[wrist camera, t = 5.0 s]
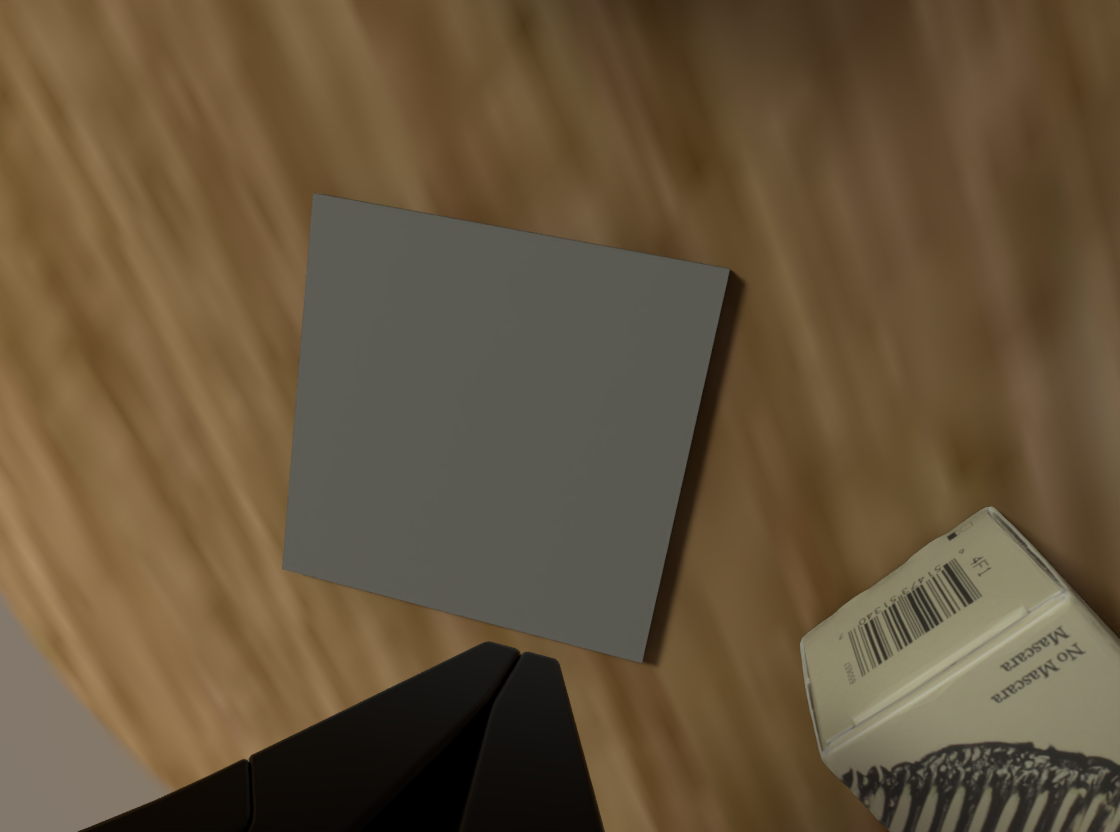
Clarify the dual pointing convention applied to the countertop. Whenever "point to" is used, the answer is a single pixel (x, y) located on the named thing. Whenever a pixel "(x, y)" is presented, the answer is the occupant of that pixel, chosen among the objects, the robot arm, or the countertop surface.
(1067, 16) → the countertop surface
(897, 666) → the box
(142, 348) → the countertop surface
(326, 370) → the mat
